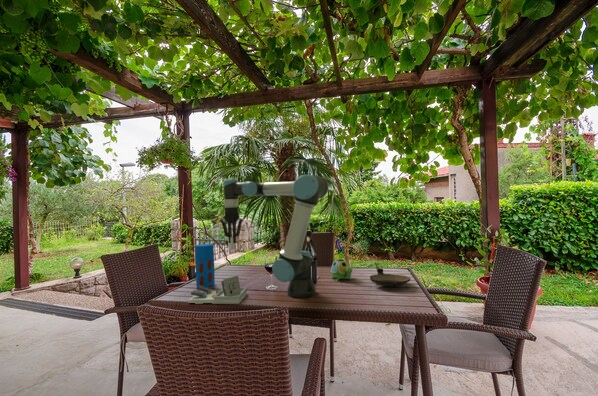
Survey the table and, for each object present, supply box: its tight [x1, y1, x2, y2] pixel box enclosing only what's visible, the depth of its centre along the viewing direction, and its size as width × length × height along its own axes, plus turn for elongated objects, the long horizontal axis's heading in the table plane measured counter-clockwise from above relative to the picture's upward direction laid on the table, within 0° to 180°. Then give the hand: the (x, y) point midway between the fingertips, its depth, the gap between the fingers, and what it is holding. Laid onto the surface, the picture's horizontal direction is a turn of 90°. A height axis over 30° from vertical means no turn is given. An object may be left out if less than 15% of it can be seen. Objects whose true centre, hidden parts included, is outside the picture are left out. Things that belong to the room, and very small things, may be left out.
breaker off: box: [196, 285, 213, 293], centre depth 160 cm, size 1×3×8 cm
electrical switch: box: [221, 275, 242, 296], centre depth 157 cm, size 9×5×9 cm, turn 141°
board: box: [188, 287, 248, 305], centre depth 156 cm, size 26×15×4 cm, turn 85°
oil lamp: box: [369, 265, 411, 288], centre depth 173 cm, size 22×30×8 cm
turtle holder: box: [330, 258, 353, 282], centre depth 186 cm, size 12×18×12 cm
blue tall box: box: [194, 243, 216, 289], centre depth 182 cm, size 11×11×25 cm
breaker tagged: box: [190, 289, 208, 297], centre depth 154 cm, size 1×3×8 cm
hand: (232, 249), depth 166 cm, fingers closed
